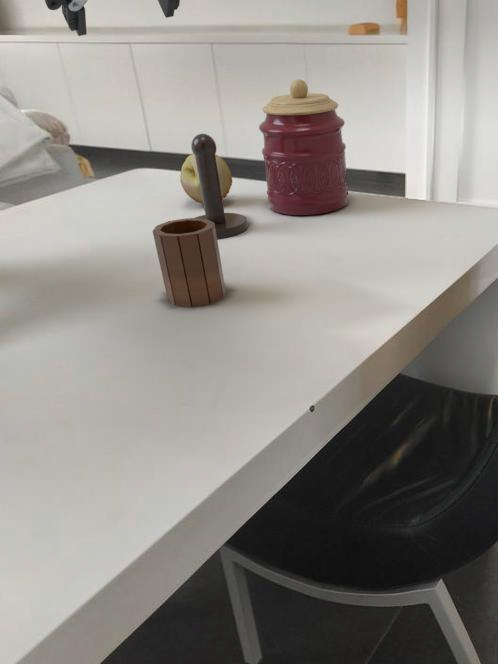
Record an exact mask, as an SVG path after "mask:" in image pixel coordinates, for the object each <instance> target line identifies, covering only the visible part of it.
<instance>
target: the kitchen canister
mask: <svg viewBox="0 0 498 664" xmlns="http://www.w3.org/2000/svg"><path fill="white" fill-rule="evenodd" d="M289 93H290V94H282V95H278V96H274V97H272V98H271V99H270V101H269V102H268V103H267V104H266V105H265V106H263V107H262V112H263V113H264V114H265V118H264V120H263V121H262V122H261V123H260V124H259V126H258V129H259V131H260V132H261V133H262V135H263V148H262V149H261V153H262V155H263V165H264V171H265V179H266V181H265V182H266V195H267V201H268V203H269V208H270V209H271V211H273V212H276V213H278V214H282V215H289V216H313V215H321V214H322V215H323V214H326V213H331V212H335V211H337V210H340V209H342V208H344V207H345V206H346V205H347V203H348V197H349V185H348V183H347V182H348V181H347V180H348V179H347V164H346V163H347V161H346V148H347V145H346V144H345V142H344V141H343V133H342V129H343V128H344V126H345V124H346V122H345V120H344V119H343V118H342V117H341V116H340V115H338V113H337V111H336V110H337V109H338V108H339V103H338V102H336V101H335V100H333V99H331V97H329V95H328V94H325V93H324V94H323V93H317V92H316V93H315V92H313V93H311V92H310V93H309V89H308V85H307V83H306V81H305V80H303V79H299V78H297V79H294V80H292V81H291V83H290V86H289Z"/></svg>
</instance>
